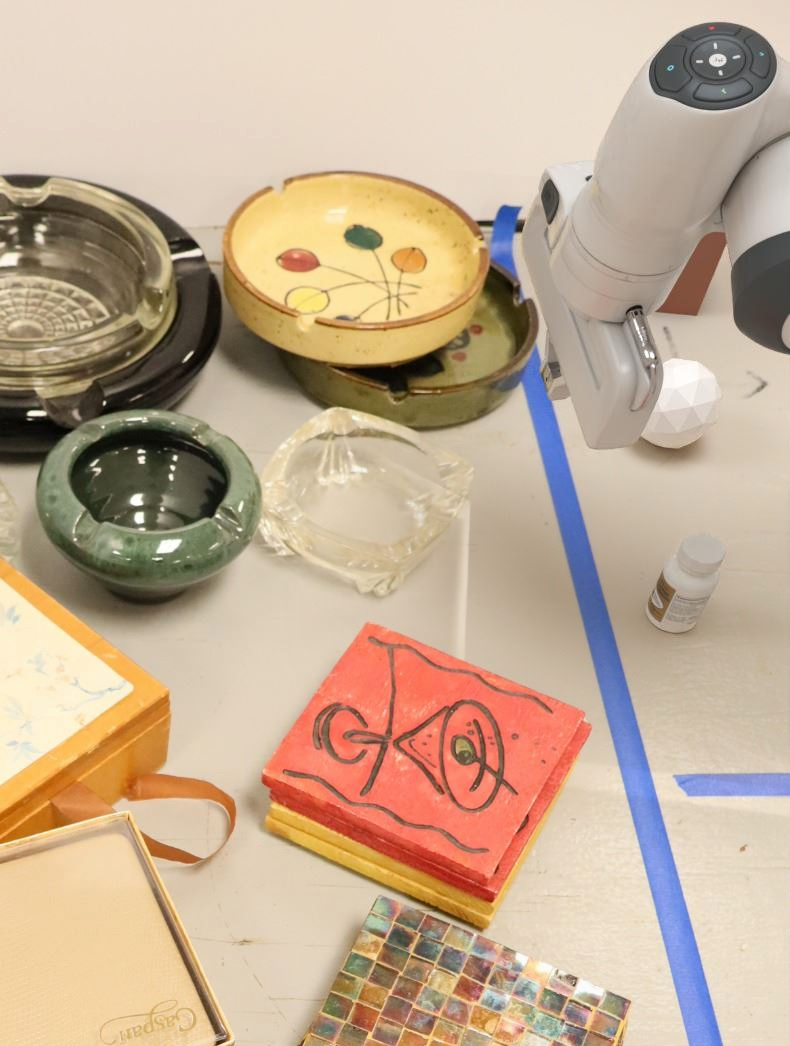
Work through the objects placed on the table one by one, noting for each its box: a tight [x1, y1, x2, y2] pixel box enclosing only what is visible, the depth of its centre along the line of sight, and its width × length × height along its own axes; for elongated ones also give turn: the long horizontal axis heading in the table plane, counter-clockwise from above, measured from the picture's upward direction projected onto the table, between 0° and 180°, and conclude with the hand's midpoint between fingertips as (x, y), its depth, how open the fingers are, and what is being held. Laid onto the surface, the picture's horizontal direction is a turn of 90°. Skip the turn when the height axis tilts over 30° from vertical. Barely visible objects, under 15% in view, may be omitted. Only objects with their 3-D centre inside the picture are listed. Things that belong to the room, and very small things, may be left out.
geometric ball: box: [640, 357, 724, 449], centre depth 130 cm, size 8×8×8 cm
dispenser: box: [654, 232, 727, 317], centre depth 141 cm, size 10×8×11 cm
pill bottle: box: [645, 533, 726, 634], centre depth 118 cm, size 4×4×8 cm
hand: (553, 385), depth 114 cm, fingers closed
